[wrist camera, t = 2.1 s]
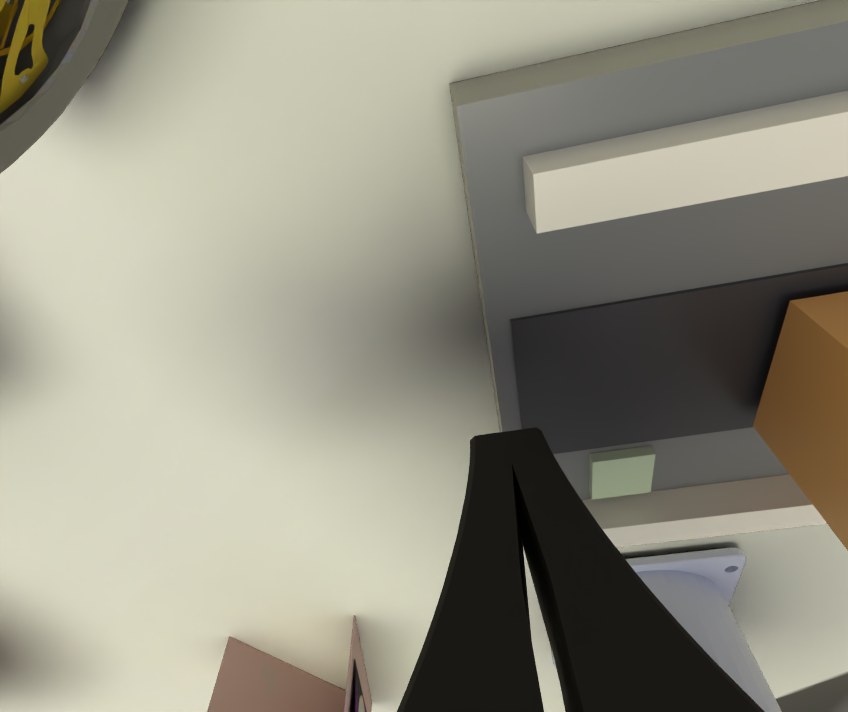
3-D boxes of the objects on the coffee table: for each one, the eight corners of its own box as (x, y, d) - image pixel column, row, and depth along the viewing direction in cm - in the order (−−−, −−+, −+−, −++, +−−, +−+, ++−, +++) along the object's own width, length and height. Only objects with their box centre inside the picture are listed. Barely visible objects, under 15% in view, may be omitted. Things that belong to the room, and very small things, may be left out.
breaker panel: (1001, 421, 16) (1122, 510, 13) (507, 485, 18) (524, 575, 15) (1398, -129, 8) (1893, -189, 5) (449, 83, 10) (460, 119, 7)
